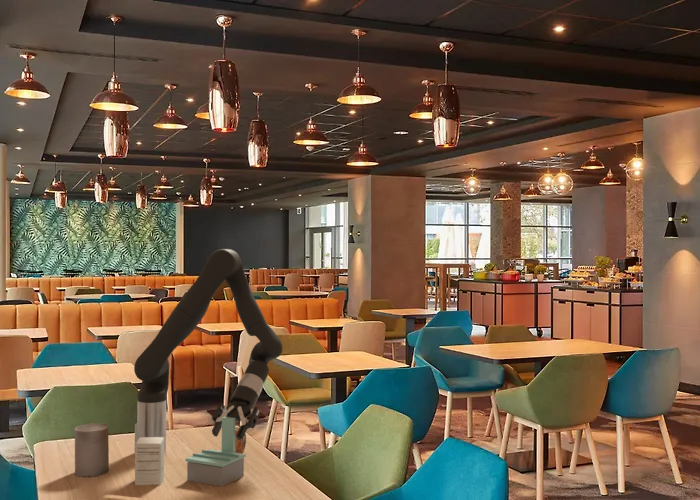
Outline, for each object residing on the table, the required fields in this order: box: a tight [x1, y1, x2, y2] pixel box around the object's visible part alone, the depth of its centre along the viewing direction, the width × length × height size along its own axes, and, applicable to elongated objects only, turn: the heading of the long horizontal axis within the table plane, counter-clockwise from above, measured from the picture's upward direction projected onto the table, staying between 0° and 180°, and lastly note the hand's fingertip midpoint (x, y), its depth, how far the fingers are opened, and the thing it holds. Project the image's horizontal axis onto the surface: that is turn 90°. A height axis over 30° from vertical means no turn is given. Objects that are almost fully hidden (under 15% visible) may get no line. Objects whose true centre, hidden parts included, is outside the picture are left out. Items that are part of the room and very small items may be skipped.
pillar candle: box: [74, 422, 110, 477], centre depth 230 cm, size 10×10×15 cm
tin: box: [234, 426, 247, 454], centre depth 251 cm, size 15×3×8 cm, turn 168°
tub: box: [186, 458, 245, 487], centre depth 223 cm, size 12×11×6 cm
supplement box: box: [134, 437, 165, 486], centre depth 219 cm, size 7×7×13 cm
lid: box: [185, 416, 247, 467], centre depth 223 cm, size 13×13×11 cm
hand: (226, 436), depth 227 cm, fingers open, 8 cm apart
